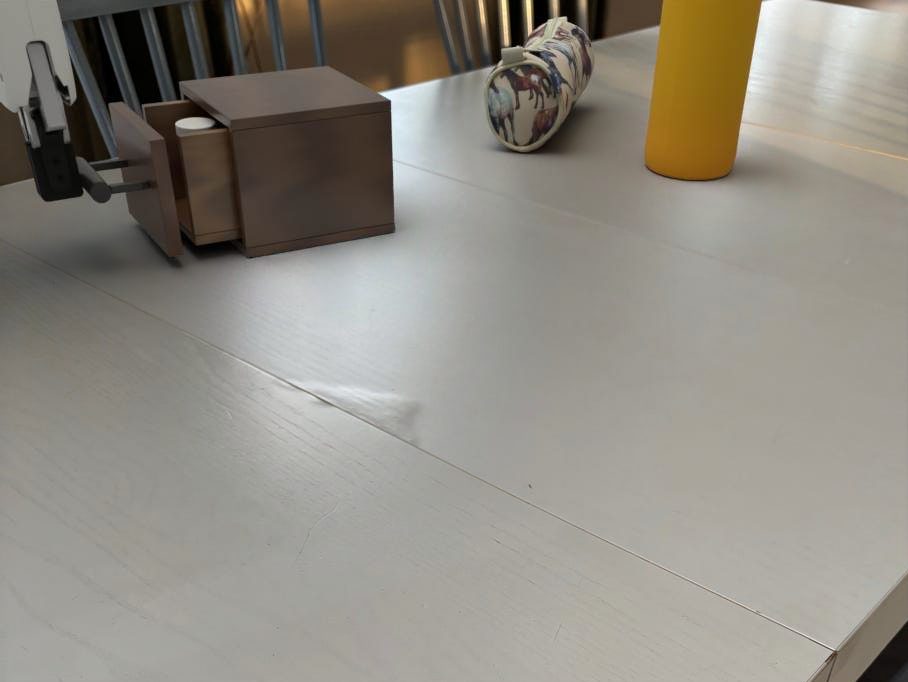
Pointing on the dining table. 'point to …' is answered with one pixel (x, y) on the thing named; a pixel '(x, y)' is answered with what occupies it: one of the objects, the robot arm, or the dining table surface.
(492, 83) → the pencil case
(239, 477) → the dining table surface
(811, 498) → the dining table surface
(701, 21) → the yellow rounded cylinder
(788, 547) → the dining table surface
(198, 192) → the drawer
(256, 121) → the cabinet
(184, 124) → the glue stick
